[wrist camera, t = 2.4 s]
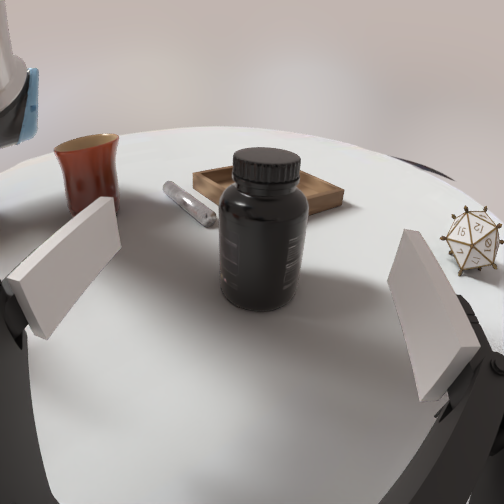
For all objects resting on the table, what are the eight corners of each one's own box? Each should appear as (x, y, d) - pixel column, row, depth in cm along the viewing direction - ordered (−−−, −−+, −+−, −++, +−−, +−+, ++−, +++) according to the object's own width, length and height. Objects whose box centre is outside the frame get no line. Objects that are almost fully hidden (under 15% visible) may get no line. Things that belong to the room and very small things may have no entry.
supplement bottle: (274, 259, 31) (287, 142, 25) (310, 302, 26) (337, 167, 20) (209, 273, 29) (208, 145, 22) (235, 323, 24) (242, 172, 17)
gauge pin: (163, 195, 44) (162, 182, 42) (175, 192, 45) (174, 179, 44) (201, 228, 36) (201, 213, 35) (216, 224, 37) (216, 209, 36)
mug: (125, 225, 36) (116, 144, 30) (61, 235, 33) (45, 156, 27) (127, 190, 45) (122, 126, 39) (76, 198, 42) (67, 135, 37)
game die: (450, 280, 36) (476, 219, 35) (495, 299, 28) (521, 228, 27) (417, 252, 33) (447, 183, 32) (470, 270, 25) (499, 188, 24)
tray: (192, 188, 46) (192, 172, 45) (272, 172, 55) (273, 159, 53) (256, 232, 36) (257, 212, 34) (341, 205, 44) (344, 189, 43)
